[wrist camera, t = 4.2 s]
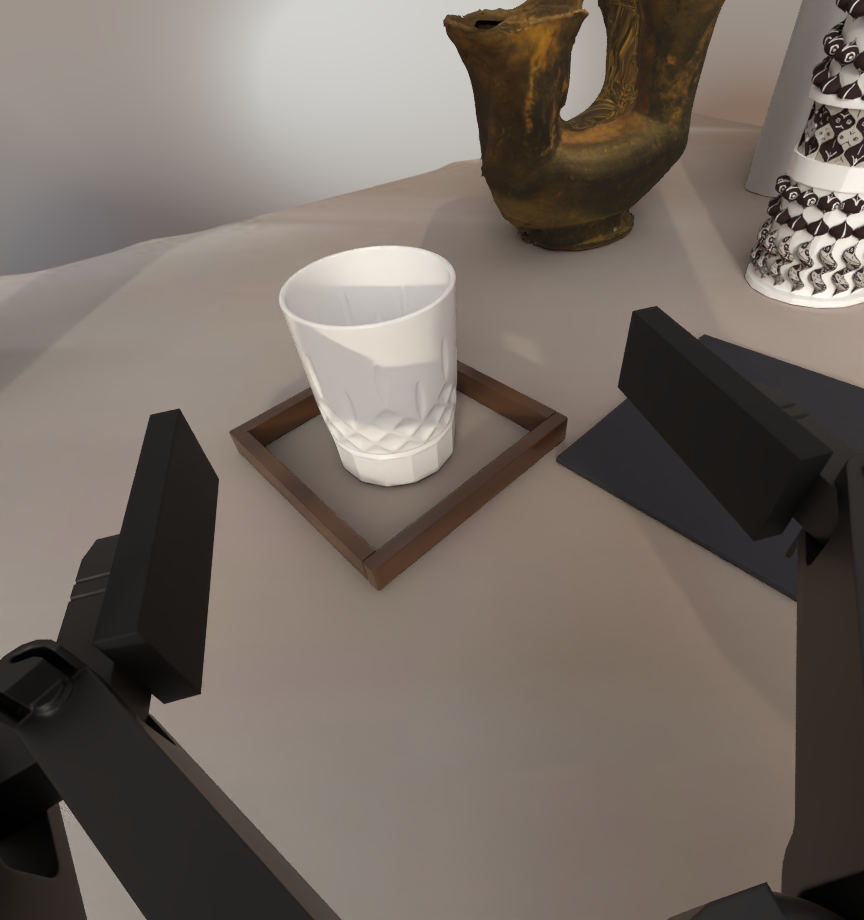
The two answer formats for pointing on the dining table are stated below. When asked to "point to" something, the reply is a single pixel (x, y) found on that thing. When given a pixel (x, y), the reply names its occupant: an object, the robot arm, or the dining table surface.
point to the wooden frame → (440, 518)
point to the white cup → (380, 356)
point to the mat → (681, 492)
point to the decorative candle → (821, 187)
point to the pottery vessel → (597, 128)
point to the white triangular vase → (792, 95)
